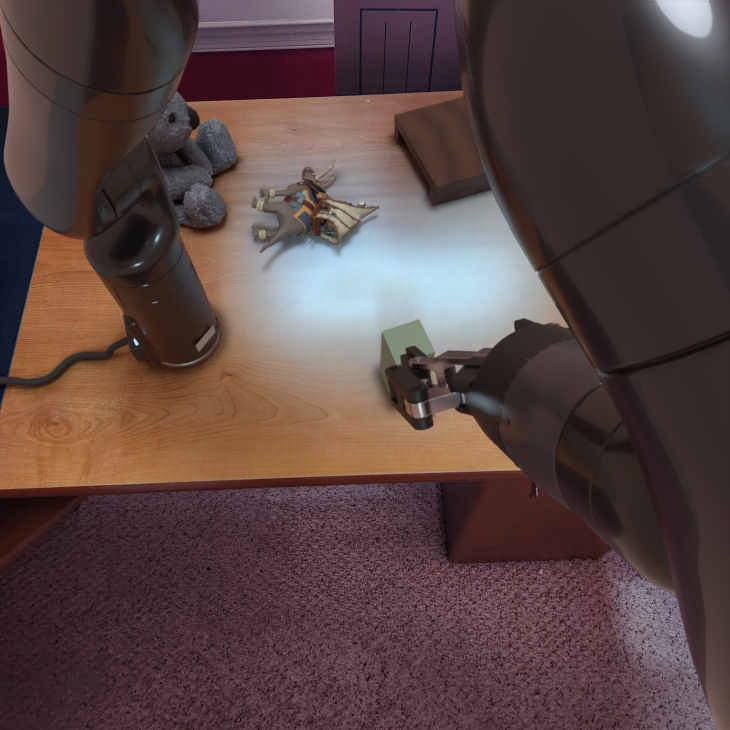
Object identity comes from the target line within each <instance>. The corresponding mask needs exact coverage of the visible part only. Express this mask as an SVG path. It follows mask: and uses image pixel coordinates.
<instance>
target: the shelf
mask: <svg viewBox="0 0 730 730" xmlns="http://www.w3.org/2000/svg"><path fill="white" fill-rule="evenodd" d="M393 120H394V121H393V123H394V132H393V133H394V134H393V137H394V140H395V141H396V143H397V144H399V143H403V142H405V144H406V146H407V148H408V149H409V151H410V153H411V155H412V157H413V158H414V160H415V162H416V163H417V165H418V166H419V169H420V171H421V172H422V173H423V176H424V177H425V179H426V180H427V183H428V184H429V186H430V191H429V198H428V199H429V201H430V202H431V204H432V206H437V205H440V204H443V203H446V202H449V201H453V200H457V199H461V198H464V197H467V196H470V195H473V194H478V193H480V192H484V191H488V190H491V188H490V185H489V183H488V180H487V178H486V175H485V173H484V171H483V168H482V165H481V162H480V159H479V156H478V152H477V149H476V146H475V143H474V140H473V137H472V133H471V128H470V124H469V120H468V116H467V111H466V107H465V102H464V96H460V97H457V98H453V99H449V100H446V101H442V102H439V103H434V104H431V105H430V104H429V105H426V106H422V107H419V108H415V109H412V110H408V111H404V112H400V113H396V114H394V118H393Z"/></svg>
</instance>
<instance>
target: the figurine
mask: <svg viewBox="0 0 730 730" xmlns="http://www.w3.org/2000/svg"><path fill="white" fill-rule="evenodd" d="M336 160H337V157H334V158H333V159H332V161H331V163H330V165H329V167H328V168H326V169H325V170H324V171H322V172H321V173H319V174H316V173H315V170H314V169H313V168H312V167H311V166H304V168H303V169H302V171H301V179H300V180H299V181H298V182H296V183H291V184H288V185H287V186H286V188H285V189H278V190H275V189H273V188H270V189H266V188H264V187H263V186H261V185H260V186H259V188H258V194H260V195H259V196H258V197H259V198H263V199H258V198H257V197H256V195H253V197H252V201H251V204H250V206H249V207H250V209H251V208H252V209H256V212H259V213H266V214H267V213H268V214H273V215H275V214H277V221H278V227H277V228H273V229H271V230H266V229H263V228H261V229H257V228H256V226H255V224H254V223H251V231H252V232H251V234H252V240H255V239H257V238H259V240H261V241H262V242H263V241H264V240H266V239H270V240H268V242H267V243H266V244H264V245H263V246H262V247H261V249H260V250H259V254H262V253H263V252H265V250H268V249H269V248H271V247H273V246H274V245H276V244H277V243H279V242H281V241H283V240H287V239H288V240H289V239H292V238H295V237H300V236H301V235H302V234H304V233H305V232H306V231H307V232H306V233H305V234H304V235H303V237H301V239H300V242H302V241H303V240H304V239H305V238H306V239H311V240H310V241H309V243H308V244H311V243H312V242H313V241H314V239H315V238H316V237H318V238H320V239H323V240H324V241H326V242H327V243H329V244H331V245H333V246H337V245H340V244H341V242H342V240H341V239H342V238H343V237H345V236H346V235H347V234H349V233H350V232H351V231H353V230H354V228H356V227H357V226H358V225H359V224H360V223H361V221H362V220H363V219H364V218H366V217H367V216H369V215H371V214H372V213H373V212H375V211H376V210H378V209H379V208H380V205H376V206H375V205H371V204H370V205H369V204H366V201H359V202H357V205H356V204H353V203H352V202H348V201H345V200H340V199H335V198H332V197H331V196H330V195H329V194H327V190H326V189H325V188H324V186H323V185H326V184H328V183H330V182H333V181H334V179H335V178H336V176H337V172H332V170H333V168H334V166H335V165H336ZM329 173H330V174H332V175H333V176H331V177H329V178H326V179H323V178H324V177H325V176H327V174H329ZM321 179H322V180H321ZM276 197H277V198H278V197H284V198H283V200H280V201H279V200H278V201H275V198H276ZM309 233H310V234H313V235H312V236H313V237H310V236H308V235H307V234H309Z"/></svg>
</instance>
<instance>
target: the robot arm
mask: <svg viewBox="0 0 730 730" xmlns="http://www.w3.org/2000/svg"><path fill="white" fill-rule="evenodd" d="M452 1H453V3H452V4H453V14H454V28H455V38H456V48H457V57H458V59H457V60H458V69H459V78H460V84H461V89H462V94H463V95H462V97H464V102H465V107H466V111H467V116H468V120H469V124H470V128H471V133H472V137H473V140H474V143H475V146H476V149H477V152H478V156H479V159H480V162H481V165H482V168H483V171H484V173H485V175H486V178H487V180H488V183H489V185H490V188H491V189H490V190H491V192H492V195H493V198H494V199H495V202H496V204H497V206H498V209H499V210H500V211H501V213H502V215H503V218H504V219H505V222H506V224H507V226H508V228H509V229H510V231H511V234H512V235H513V237H514V239H515V241H516V243H517V244H518V245H519V247H520V249H521V251H522V253H523V254H524V256H525V257H526V259H527V260H528V262H529V264H530V266H531V267H532V269H533V271H534V272H537V278H538V279H539V280H540V282H541V284H542V285H543V287H544V289H545V290H546V292H547V294H548V296H549V297H550V298H551V300H552V302H553V304H554V305H555V307H556V309H557V311H558V312H559V313H560V316H561V317H562V319H563V321H564V322H565V324H566V325H567V327H564V326H561V325H560V323H558V322H557V323H556V322H548V323H540V322H535V321H532V320H530V319H528V318H525V317H524V318H520V319H515V320H514V321H513V326H514V327H513V328H514V331H513V332H510V333H509V334H507V335H506V336H505V337H503V338H502V339H500V340H499V341H498V342H497V343H496V344H495V345H494V346H493V347H483V348H480V349H479V350H450V349H449V350H446V351H444V352H442V353H440V354H439V355H436V356H434V357H427V355H426V354H425V353H423V352H422V351H421V350H420V349H419V348H417V347H416V346H411V347H407V348H406V354H403V355H401V356H400V360H401V365H402V366H401V365H392V366H390V367H388V368H386V369H385V374H386V377H387V380H388V385H389V390H390V394H391V397H390V402H391V406H392V407H393V408H394V409H395V410H396V411H397V412H398V413H399V414H400V415H401V416H402V417H403V419H404V420H405V421H406V422H407V423H408V424H409V425H410V426H411V428H412V429H413V430H414V431H415V430H416V431H425V430H429V429H431V428H433V427H434V425H435V423H434V418H435V416H436V414H438V413H441V412H445V411H448V410H452V409H454V411H456V412H458V413H460V414H463V415H468V416H471V417H473V418H474V420H475V422H476V424H477V425H478V427H479V428H480V429H481V431H482V432H483V433H484V435H485V436H486V437H487V438H488V439H489V441H491V442H492V443H493V444H494V445H495V446H496V447H497V448H498V449H499V450H500V451H501V452H502V453H503V454H504V455H505V456H506V457H507V458H508V459H509V460H510V461H511V462H512V463H513V465H514V466H516V467H517V468H518V469H519V470H521V471H522V473H524V474H525V475H526V476H527V478H529V479H530V480H531V481H532V482H533V483H534V484H535V485H536V486H537V487H538V488H539V489H540V490H541V491H542V492H543V493H544V494H545V495H547V496H548V497H549V498H551V499H553V500H554V501H555V502H557V503H558V504H560V505H561V506H562V507H564V508H566V509H567V510H569V511H571V512H572V513H573V514H574V515H575V516H576V517H578V519H579V520H581V522H583V523H584V524H585V526H586V527H588V528H589V529H590V530H591V531H592V532H593V533H594V534H595V535H596V536H597V537H599V539H601V540H602V541H603V543H605V545H607V547H609V548H610V549H611V550H612V551H613V552H614V553H615V554H616V555H617V556H618V557H619V558H620V559H621V560H622V561H623V562H625V564H627V565H628V566H629V567H630V568H631V569H632V570H633V571H634V572H635V573H637V574H638V575H640V576H641V577H642V578H643V579H645V580H646V581H648V582H649V583H650V584H652V585H653V586H655V587H657V588H659V589H660V590H663V591H666V592H667V593H669V594H672V595H674V596H676V600H677V604H678V609H679V612H680V616H681V621H682V626H683V629H684V632H685V637H686V641H687V645H688V649H689V653H690V656H691V660H692V663H693V666H694V669H695V672H696V675H697V678H698V682H699V685H700V687H701V691H702V693H703V696H704V699H705V701H706V704H707V708H708V710H709V713H710V715H711V717H712V720H713V722H714V725H715V727H716V729H717V730H730V0H452ZM199 25H200V0H0V33H1V37H2V42H3V47H4V51H5V59H6V72H7V74H6V75H7V90H8V91H7V93H8V119H7V126H6V127H7V129H6V134H5V140H4V148H3V165H4V168H5V172H6V176H7V178H8V181H9V183H10V185H11V187H12V189H13V191H14V192H15V195H16V196H17V197H18V199H19V200H20V202H21V203H22V205H23V206H24V207H25V209H26V210H27V211H28V212H29V213H30V214H31V215H32V216H33V217H34V219H36V220H37V221H38V222H39V223H40V224H42V225H43V226H44V227H45V228H47V229H48V230H50V231H52V232H54V233H56V234H58V235H60V236H62V237H65V238H68V239H72V240H79V241H83V242H82V243H83V244H82V245H83V251H84V255H85V257H86V260H87V261H88V263H89V265H90V266H91V268H92V269H93V271H94V272H95V274H96V275H97V276H98V278H99V279H100V280H101V282H102V284H103V285H104V287H105V288H106V290H107V291H108V292H109V294H110V295H111V297H112V298H113V300H114V301H115V302H116V304H117V305H118V307H119V308H120V309H121V311H122V319H123V320H122V321H123V324H124V329H125V334H126V337H123V338H120V339H119V340H116V341H115V342H113V343H111V344H110V345H109V346H108V347H107V348H106V350H104V351H79V352H75V353H73V354H71V355H69V356H67V357H66V358H64V359H63V360H62V361H61V362H60V363H59V364H58V365H57V366H56V367H55V368H54V369H53V370H52V371H50V372H49V373H48V374H46V375H44V376H41V377H37V378H36V377H35V378H24V377H23V378H22V377H15V376H0V386H2V385H13V386H25V387H35V386H36V387H37V386H42V385H45V384H48V383H51V382H52V381H54V380H56V379H57V378H58V377H59V376H60V375H61V374H62V373H63V372H64V371H65V370H66V369H67V368H68V367H69V366H70V365H72V364H73V363H76V362H77V361H81V360H104V359H108V358H111V356H113V354H114V353H115V352H116V351H117V350H118V349H121V348H123V347H125V346H127V345H128V348H129V352H130V353H131V355H132V356H133V357H134V359H135V360H136V362H137V363H142V362H145V361H148V360H149V361H150V363H151V364H152V365H153V367H159V366H165V367H168V368H172V369H173V368H174V369H187V368H191V367H194V366H196V365H199V364H201V363H203V362H204V361H206V360H207V359H208V358H210V357H211V355H212V354H214V352H215V351H216V349H217V348H218V346H219V344H220V342H221V338H222V327H221V324H220V320H219V319H218V317H217V315H216V313H215V311H214V309H213V307H212V304H211V302H210V300H209V298H208V295H207V293H206V290H205V288H204V286H203V284H202V281H201V279H200V277H199V275H198V273H197V270H196V268H195V265H194V263H193V261H192V259H191V256H190V254H189V252H188V249H187V248H186V245H185V242H184V240H183V238H182V235H181V234H180V233H181V223H180V222H179V218H178V215H177V212H176V209H175V207H174V204H173V201H172V198H171V195H170V192H169V189H168V186H167V183H166V180H165V177H164V174H163V172H162V169H161V166H160V164H159V161H158V159H157V157H156V155H155V152H154V150H153V148H152V146H151V144H150V143H149V141H148V139H147V137H146V135H147V134H148V132H149V131H150V130H151V129H152V128H153V126H154V125H155V124H156V123H157V121H158V120H159V119H160V118H161V116H162V115H163V114H164V112H165V110H166V109H167V107H168V105H169V103H170V102H171V100H172V98H173V96H174V94H175V92H176V91H177V92H178V88H179V85H180V83H181V80H182V77H183V76H184V72H185V69H186V67H187V65H188V63H189V59H190V57H191V55H192V52H193V49H194V45H195V43H196V42H195V41H196V37H197V34H198V31H199ZM457 366H461V367H460V368H459V370H457V368H456V367H457ZM430 370H431V371H433V372H434V374H435V378H436V383H433V381H432V375H430ZM390 394H389V395H390Z"/></svg>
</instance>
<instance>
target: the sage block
mask: <svg viewBox="0 0 730 730" xmlns="http://www.w3.org/2000/svg"><path fill="white" fill-rule="evenodd" d="M411 346H416V347H417V348H419V349H420V350H421V351H422V352H423V353H425V354H426V355H427V357H435V355H436V351H435V349H434V346H433V344H432V342H431V340H430V338H429V336H428V335H427V332H426V330H425V328H424V326H423V324H422V322H421V320H420V318H419V319H415V320H413V321H409V322H405V323H403V324H400V325H397V326H394V327H390V328H387V329H384V330H382V331H381V336H380V366H379V367H380V369H379V374H380V376H381V378H382V380H383V383H384V385H385V388H386V390H387V392H388V395H389V397H390V398H391V394H390V390H389V385H388V380H387V377H386V374H385V369H386V368H388V367H390V366H392V365H401V360H400V356H401V355H403V354H406V348H407V347H411ZM401 366H402V365H401ZM431 374H432V370H430V375H431ZM431 376H432V375H431Z"/></svg>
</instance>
